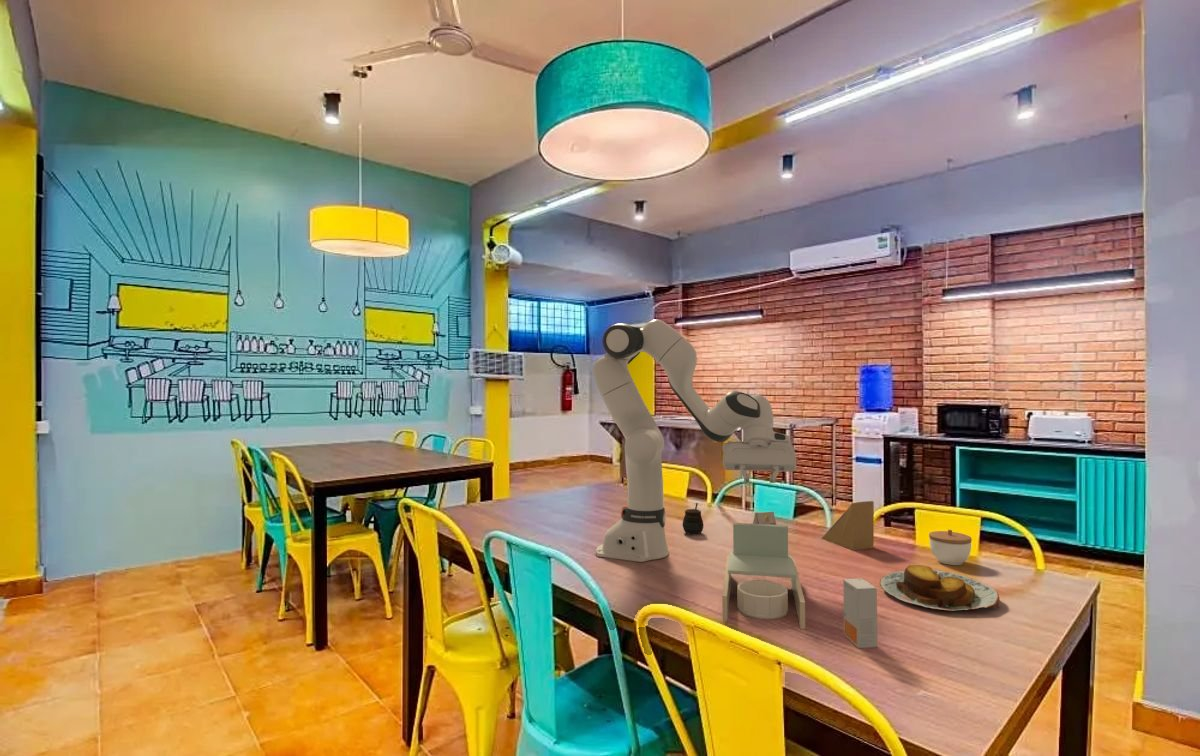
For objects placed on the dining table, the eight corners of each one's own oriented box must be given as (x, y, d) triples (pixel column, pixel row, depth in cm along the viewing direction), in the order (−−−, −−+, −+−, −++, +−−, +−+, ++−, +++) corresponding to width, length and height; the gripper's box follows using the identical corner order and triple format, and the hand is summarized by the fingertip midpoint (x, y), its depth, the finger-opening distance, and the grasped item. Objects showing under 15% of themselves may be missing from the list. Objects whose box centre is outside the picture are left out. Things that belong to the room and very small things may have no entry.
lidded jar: (931, 565, 172) (931, 532, 172) (927, 555, 182) (926, 524, 182) (975, 569, 168) (974, 536, 168) (967, 558, 178) (967, 527, 178)
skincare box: (842, 635, 125) (842, 578, 125) (862, 635, 126) (862, 577, 126) (857, 648, 119) (857, 588, 119) (878, 647, 120) (877, 587, 120)
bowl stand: (722, 621, 133) (722, 595, 133) (727, 575, 164) (727, 554, 164) (805, 629, 129) (805, 602, 129) (794, 580, 160) (794, 559, 160)
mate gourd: (680, 534, 208) (680, 506, 208) (685, 529, 215) (684, 501, 215) (701, 536, 205) (701, 507, 205) (705, 531, 212) (705, 503, 212)
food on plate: (1024, 611, 139) (1024, 582, 139) (936, 623, 132) (936, 593, 132) (936, 576, 163) (936, 552, 163) (858, 585, 157) (858, 560, 157)
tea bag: (752, 542, 198) (752, 511, 198) (770, 540, 200) (770, 510, 200) (758, 545, 195) (758, 514, 195) (776, 543, 197) (776, 512, 197)
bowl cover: (727, 573, 147) (727, 537, 147) (729, 555, 163) (729, 522, 163) (796, 578, 144) (795, 541, 144) (791, 558, 159) (791, 525, 159)
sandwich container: (840, 536, 205) (840, 492, 205) (874, 548, 191) (874, 500, 191) (819, 538, 202) (819, 494, 202) (852, 550, 188) (852, 502, 188)
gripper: (722, 434, 176) (720, 473, 167) (795, 435, 171) (798, 475, 162) (722, 448, 180) (721, 486, 171) (794, 449, 176) (797, 489, 166)
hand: (759, 481), depth 166 cm, fingers open, 5 cm apart
